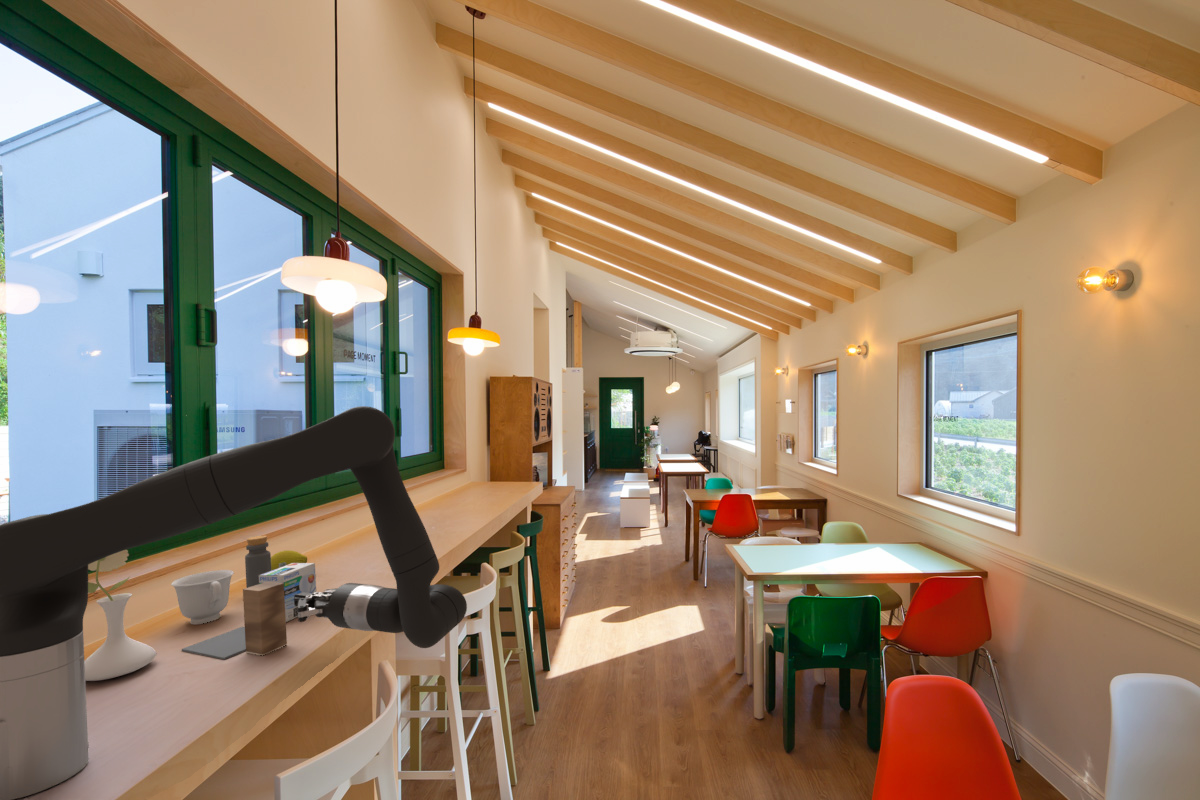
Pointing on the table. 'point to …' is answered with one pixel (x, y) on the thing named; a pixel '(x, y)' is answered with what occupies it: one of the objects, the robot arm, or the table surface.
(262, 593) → the walnut block
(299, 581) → the light bulb box
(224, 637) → the slate mat
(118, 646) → the flower in vase
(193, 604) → the teacup
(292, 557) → the lemon
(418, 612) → the robot arm
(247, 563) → the bottle
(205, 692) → the table surface
